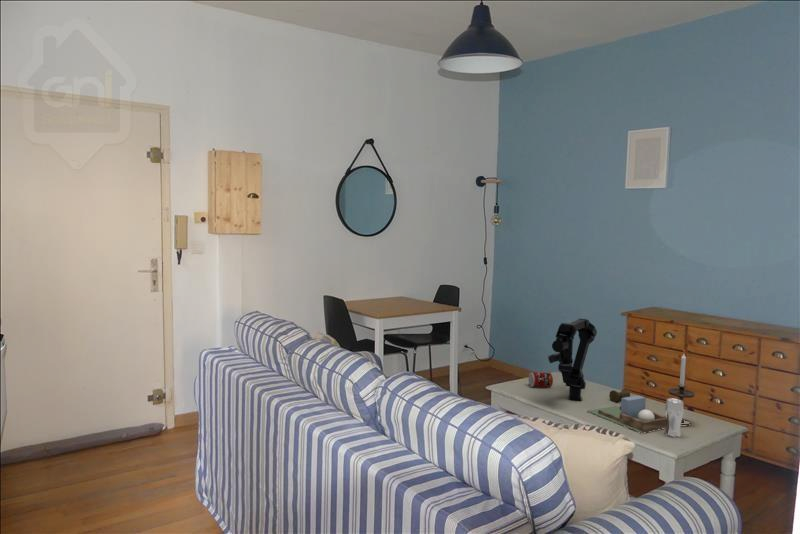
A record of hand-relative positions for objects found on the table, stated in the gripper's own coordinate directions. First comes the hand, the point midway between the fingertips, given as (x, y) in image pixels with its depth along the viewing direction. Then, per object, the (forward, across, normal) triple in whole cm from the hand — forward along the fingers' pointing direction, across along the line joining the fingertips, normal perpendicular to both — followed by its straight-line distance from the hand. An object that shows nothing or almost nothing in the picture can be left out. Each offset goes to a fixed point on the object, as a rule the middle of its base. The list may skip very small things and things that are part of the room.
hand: (564, 380), depth 289 cm
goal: (+12, +12, +29) cm, 33 cm away
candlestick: (+12, +8, +51) cm, 53 cm away
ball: (+8, +19, +36) cm, 41 cm away
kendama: (+12, -15, +29) cm, 35 cm away
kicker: (+12, +14, +31) cm, 36 cm away
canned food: (+8, -31, -8) cm, 33 cm away
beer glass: (+12, +26, +46) cm, 54 cm away
